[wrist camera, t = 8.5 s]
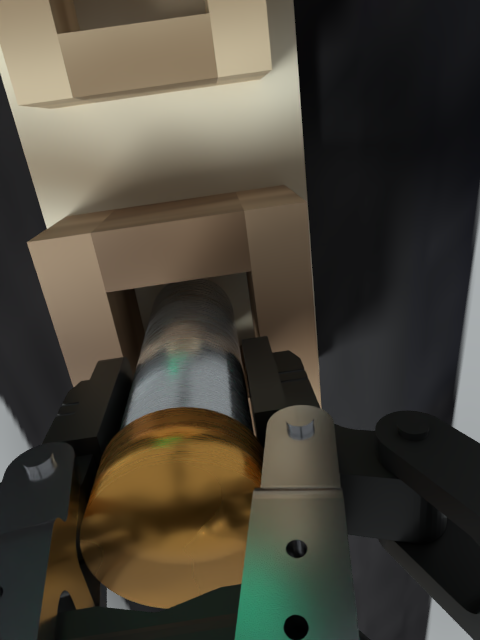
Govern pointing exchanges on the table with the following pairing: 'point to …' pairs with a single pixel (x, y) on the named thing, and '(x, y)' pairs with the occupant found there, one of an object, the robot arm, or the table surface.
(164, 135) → the dock board
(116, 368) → the robot arm
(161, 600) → the lock pin
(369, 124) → the table surface
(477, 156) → the table surface
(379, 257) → the table surface
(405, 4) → the table surface
